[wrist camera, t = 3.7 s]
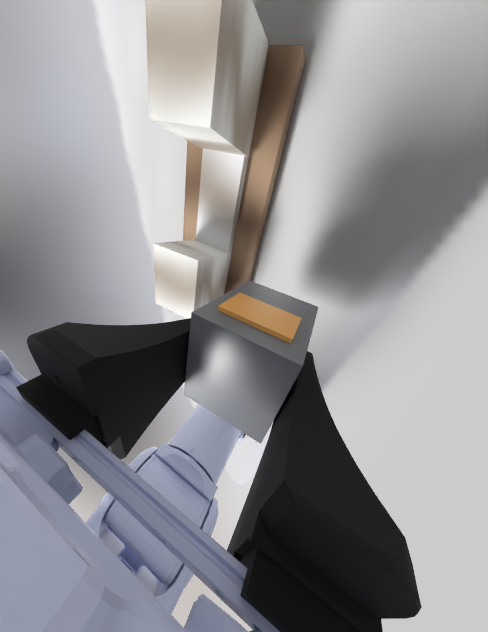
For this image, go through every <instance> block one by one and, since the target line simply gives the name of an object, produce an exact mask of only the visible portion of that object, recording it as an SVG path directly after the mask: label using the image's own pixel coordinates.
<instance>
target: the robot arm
mask: <svg viewBox="0 0 488 632" xmlns="http://www.w3.org/2000/svg"><path fill="white" fill-rule="evenodd" d="M190 323H191V318H189V319H183V320H178V321H173V322H166V323H158V324H148V325H125V326H124V325H93V324H80V323H69V322H68V323H64V324H61V325H58V326H55V327H52V328H49V329H46V330H44V331H41V332H38V333H35V334H32V335H30V336H29V337H28V339H27V344H28V347H29V350H30V352H31V354H32V356H33V358H34V360H35V362H36V364H37V366H38V368H39V370H40V372H41V374H42V375H40V376H38V377H36V378H34V379H32V380H30V381H27V380H26V379H25V378H24V377H23V376H21V375H20V374H19V373H18V372H17V371H16V370H14V366H13V364H12V362H11V361H10V359H9V358H8V357H7V356H6V355H5V353H3V352H2V351H1V350H0V632H248V631H246V629H244V628H243V627H242V626H241V625H240V624H239V623H238V622H237V621H236V620H234V619H233V618H232V617H231V616H230V615H228V614H227V613H226V612H224V611H223V610H222V609H221V608H220V607H218V606H217V605H216V604H215V603H213V602H212V601H211V600H210V599H208V598H207V597H206V596H205V595H204V594H202V595H200V596H199V597H198V600H197V601H195V602H194V604H193V606H192V609H191V611H190V614H189V616H188V619H187V622H186V624H185V626H184V628H183V627H182V626H181V625H180V624H179V623H178V622H177V620H176V619H175V618H174V617H173V616H172V615H171V614H172V612H173V610H174V607H175V606H176V604H177V601H178V599H179V597H180V595H181V593H182V591H183V589H184V588H185V587H186V586H187V584H188V583H189V581H190V579H191V578H192V576H193V574H195V575H196V576H197V577H198V578H199V579H200V580H201V581H202V582H203V583H205V585H206V586H208V588H210V589H211V590H212V591H213V592H214V593H215V594H216V595H217V596H218V597H219V598H220V599H221V600H222V601H223V602H224V603H225V604H227V605H228V606H229V607H230V608H231V609H232V610H233V611H234V612H235V613H236V614H237V615H238V616H239V617H240V618H241V619H242V620H243V621H244V622H245V623H247V624H248V625H249V626H250V627H251V628H252V629H253V630H252V631H249V632H382V624H381V619H382V618H410V617H414V616H415V615H416V614H418V612H419V610H420V609H421V604H420V599H419V594H418V590H417V585H416V580H415V575H414V570H413V565H412V561H411V557H410V554H409V550H408V547H407V543H406V539H405V537H404V536H403V534H402V533H401V531H400V530H399V528H398V527H397V525H396V524H395V522H394V521H393V520H392V518H391V517H390V515H389V514H388V512H387V511H386V509H385V508H384V507H383V505H382V504H381V502H380V501H379V499H378V498H377V496H376V495H375V493H374V492H373V490H372V489H371V487H370V485H369V484H368V482H367V481H366V479H365V477H364V476H363V474H362V473H361V471H360V469H359V468H358V466H357V465H356V463H355V461H354V459H353V458H352V456H351V454H350V452H349V450H348V449H347V447H346V445H345V443H344V441H343V440H342V438H341V436H340V434H339V432H338V430H337V428H336V426H335V424H334V421H333V419H332V417H331V415H330V412H329V410H328V407H327V405H326V402H325V399H324V397H323V394H322V391H321V388H320V384H319V381H318V377H317V374H316V369H315V365H314V360H313V355H312V353H310V352H308V351H307V352H306V356H305V360H304V364H303V367H302V369H301V371H300V372H299V374H298V376H297V378H296V380H295V382H294V383H293V385H292V387H291V389H290V391H289V393H288V394H287V396H286V398H285V400H284V402H283V404H282V405H281V407H280V409H279V411H278V413H277V415H276V416H275V418H274V421H273V425H272V429H271V432H270V436H269V439H268V442H267V444H266V447H265V450H264V453H263V456H262V458H261V461H260V464H259V467H258V469H257V472H256V475H255V477H254V480H253V483H252V486H251V488H250V491H249V494H248V496H247V499H246V502H245V504H244V507H243V510H242V512H241V515H240V518H239V520H238V523H237V525H236V528H235V531H234V534H233V536H232V539H231V541H230V544H229V546H228V549H227V551H226V550H225V549H224V548H223V547H222V546H220V545H219V544H218V543H217V542H216V541H215V540H214V539H212V538H211V535H212V532H213V529H214V526H215V523H216V520H217V516H218V506H217V505H218V502H217V500H216V499H215V498H214V494H215V492H216V490H217V486H216V483H217V481H218V479H219V477H220V475H221V473H222V471H223V469H224V467H225V465H226V462H227V460H228V458H229V456H230V454H231V452H232V450H233V448H234V446H235V444H236V442H237V441H238V442H241V440H242V437H243V435H244V433H243V432H242V431H240V430H239V429H237V428H236V427H234V426H233V425H231V424H229V423H228V422H226V421H225V420H223V419H222V418H220V417H218V416H217V415H215V414H214V413H212V412H211V411H209V410H208V409H206V408H204V407H203V406H201V405H200V404H198V405H197V406H196V408H195V409H194V410H193V411H192V413H191V414H190V415H189V417H188V418H187V419H186V420H185V421H184V423H183V424H182V425H181V427H180V428H179V429H178V430H177V432H176V433H175V434H174V435H173V437H172V438H171V439H170V440H169V442H168V443H167V444H166V443H165V442H164V443H163V444H162V445H161V446H160V447H159V449H157V448H156V447H151V448H149V449H146V450H144V451H143V452H141V453H140V454H139V455H138V456H137V457H136V458H135V459H134V460H133V461H132V462H131V463H130V464H129V465H128V466H127V465H126V464H125V463H123V462H122V461H121V460H120V459H123V458H125V457H126V456H127V454H128V453H129V452H130V450H131V449H132V447H133V446H134V445H135V443H136V442H137V441H138V439H139V438H140V436H141V435H142V434H143V432H144V431H145V430H146V428H147V427H148V426H149V425H150V423H151V422H152V421H153V419H154V418H155V417H156V415H157V414H158V413H159V412H160V410H161V409H162V408H163V407H164V405H165V404H166V403H167V402H168V400H169V399H170V398H171V397H172V396H173V395H174V393H175V392H176V391H177V390H178V389H179V387H180V386H181V385H182V384H183V383H184V382H185V376H186V366H187V355H188V344H189V334H190ZM59 447H60V448H61V449H63V450H64V451H65V452H66V453H67V454H68V455H69V456H70V457H71V458H72V459H73V460H74V461H75V462H76V463H77V464H78V465H80V466H81V467H82V468H83V469H84V470H85V471H86V472H87V473H88V474H89V475H90V476H91V477H92V478H93V479H94V480H95V481H96V482H97V483H99V484H100V485H101V486H102V487H103V488H104V489H105V490H106V491H107V493H106V494H105V496H104V498H103V499H102V501H101V503H100V505H99V506H98V507H97V509H96V510H95V512H94V513H93V514H92V515H91V517H90V518H89V520H88V521H87V522H86V523H85V522H84V521H83V520H82V519H81V517H80V516H79V515H78V514H77V513H76V512H75V511H74V510H73V509H72V508H71V507H70V506H69V504H70V503H71V501H72V500H73V499H74V498H75V497H76V496H77V495H78V494H79V493H80V492H81V491H82V486H81V485H80V483H79V482H78V481H77V479H76V478H75V477H74V475H73V474H72V472H71V471H70V469H69V467H68V464H67V463H66V462H65V461H64V460H63V458H62V457H61V456H60V455H59V454H58V453H57V451H58V448H59Z"/></svg>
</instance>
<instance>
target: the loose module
mask: <svg viewBox="0 0 488 632" xmlns="http://www.w3.org/2000/svg"><path fill="white" fill-rule="evenodd" d="M317 310H318V307H317V306H314V305H312V304H309V303H306V302H304V301H301V300H299V299H296V298H293V297H291V296H288V295H286V294H283V293H280V292H278V291H275V290H273V289H270V288H267V287H265V286H262V285H260V284H257V283H255V282H252V281H247V282H245V283H243V284H242V285H240V286H238V287H236V288H234V289H233V290H231V291H229V292H227V293H225V294H224V295H222V296H220V297H218V298H217V299H215V300H213V301H211V302H209V303H208V304H206V305H204V306H202V307H200V308H199V309H197V310H195V311H193V312H192V313H191V323H190V334H189V344H188V355H187V366H186V376H185V387H184V395H186V396H187V397H189V398H190V399H192V400H193V401H195V402H197V403H198V404H200V405H201V406H203V407H204V408H206V409H208V410H209V411H211V412H212V413H214V414H215V415H217V416H218V417H220V418H222V419H223V420H225V421H226V422H228V423H229V424H231V425H233V426H234V427H236V428H237V429H239V430H240V431H242V432H243V433H245V434H247V435H248V436H250V437H251V438H253V439H254V440H256V441H258V442H259V443H261V442H262V440H263V438H264V437H265V435H266V433H267V431H268V429H269V427H270V426H271V424H272V422H273V420H274V418H275V416H276V415H277V413H278V411H279V409H280V407H281V405H282V404H283V402H284V400H285V398H286V396H287V394H288V393H289V391H290V389H291V387H292V385H293V383H294V382H295V380H296V378H297V376H298V374H299V372H300V371H301V369H302V367H303V364H304V360H305V356H306V352H307V348H308V345H309V341H310V337H311V333H312V329H313V326H314V322H315V318H316V314H317Z"/></svg>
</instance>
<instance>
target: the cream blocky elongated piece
mask: <svg viewBox="0 0 488 632" xmlns="http://www.w3.org/2000/svg"><path fill="white" fill-rule="evenodd" d="M146 29H147V59H148V89H149V119H150V120H152V121H154V122H156V123H157V124H159V125H161V126H163V127H164V128H166V129H168V130H170V131H171V132H173V133H175V134H177V135H178V136H180V137H182V138H184V139H185V140H187V141H188V142H187V164H186V186H185V208H184V230H183V241H177V242H165V243H154V270H155V297H156V298H155V299H156V303H157V304H159V305H161V306H163V307H165V308H167V309H169V310H171V311H173V312H175V313H177V314H179V315H181V316H183V317H185V318H187V319H189V318H191V313H192V312H193V311H195V310H197V309H199V308H200V307H202V306H204V305H206V304H208V303H209V302H211V301H213V300H215V299H217V298H218V297H220V296H222V295H224V294H225V293H227V292H229V291H231V290H233V289H234V288H236V287H238V286H240V285H242V284H243V283H245V282H247V281H250V280H251V276H252V272H253V268H254V264H255V260H256V256H257V252H258V248H259V244H260V240H261V236H262V232H263V228H264V224H265V220H266V216H267V212H268V208H269V204H270V200H271V196H272V192H273V188H274V184H275V180H276V176H277V172H278V168H279V164H280V160H281V156H282V152H283V148H284V144H285V140H286V136H287V132H288V128H289V124H290V120H291V116H292V112H293V108H294V104H295V100H296V96H297V92H298V88H299V84H300V80H301V76H302V72H303V68H304V64H305V60H306V57H305V52H304V47H303V45H269V44H268V39H267V37H266V34H265V32H264V29H263V26H262V24H261V21H260V18H259V16H258V13H257V11H256V8H255V5H254V3H253V0H146Z"/></svg>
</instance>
